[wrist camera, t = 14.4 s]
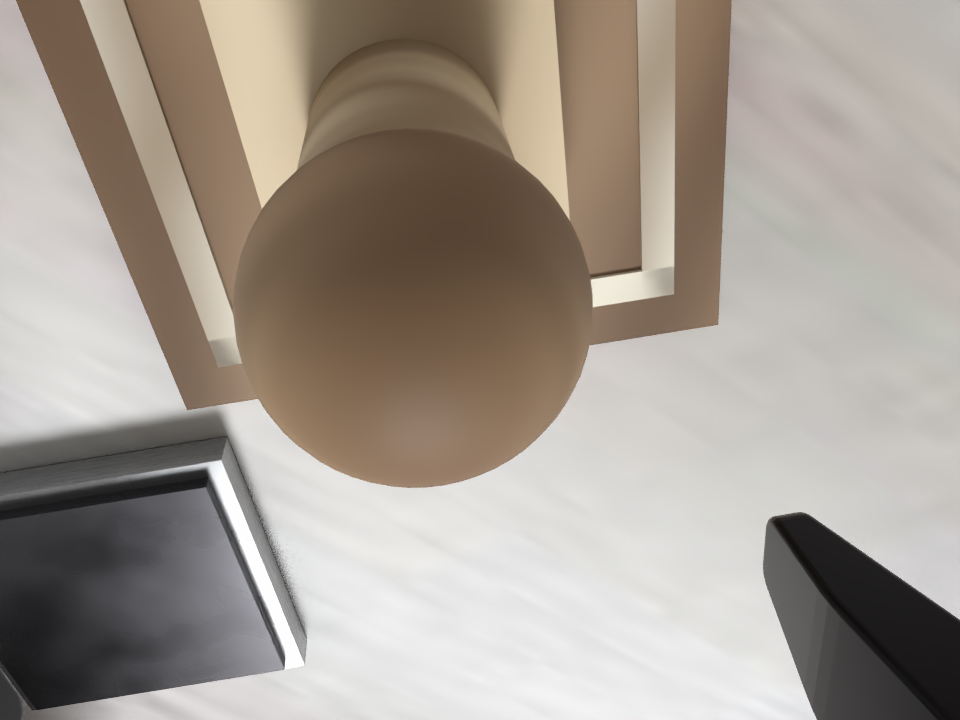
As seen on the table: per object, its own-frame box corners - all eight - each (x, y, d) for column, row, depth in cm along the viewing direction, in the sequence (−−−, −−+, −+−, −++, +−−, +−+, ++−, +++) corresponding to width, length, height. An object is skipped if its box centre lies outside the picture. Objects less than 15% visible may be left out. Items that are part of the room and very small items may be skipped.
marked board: (191, 396, 22) (186, 412, 22) (-74, -253, 14) (-93, -255, 14) (710, 313, 22) (719, 326, 22) (734, -378, 14) (749, -385, 14)
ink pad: (42, 683, 28) (28, 721, 27) (-97, 488, 23) (-123, 525, 22) (307, 640, 28) (303, 676, 27) (227, 436, 23) (218, 470, 22)
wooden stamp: (303, 267, 20) (234, 669, 11) (212, -59, 16) (-25, 136, 7) (554, 227, 20) (701, 593, 11) (526, -108, 16) (720, 17, 7)
